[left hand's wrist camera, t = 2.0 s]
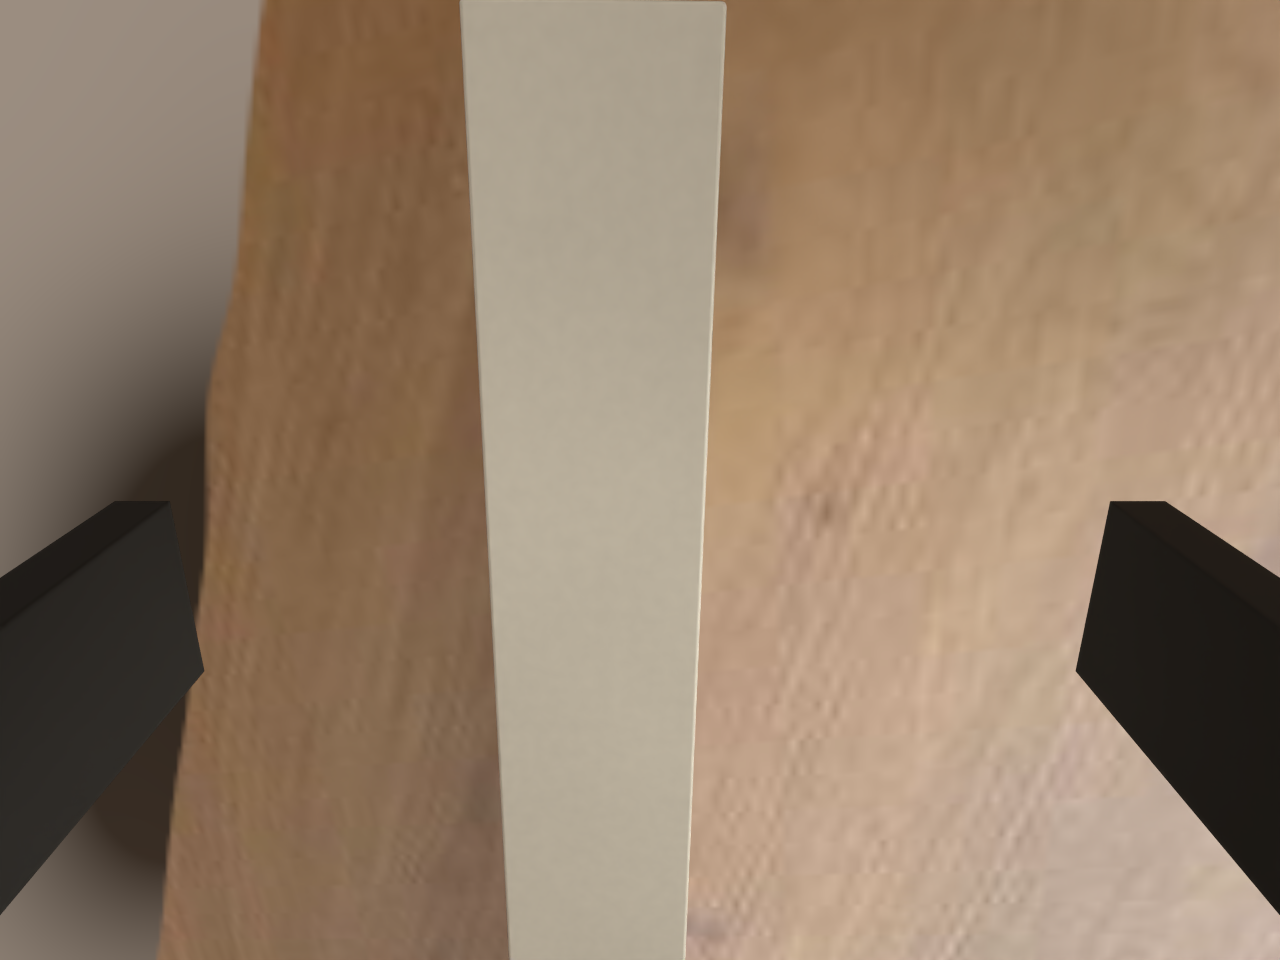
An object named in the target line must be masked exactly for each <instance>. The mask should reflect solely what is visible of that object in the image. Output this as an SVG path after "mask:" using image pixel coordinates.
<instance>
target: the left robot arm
mask: <svg viewBox="0 0 1280 960" xmlns="http://www.w3.org/2000/svg"><path fill="white" fill-rule="evenodd" d="M203 672H204V667H203V662H202V657H201V652H200V647H199V642H198V638H197V633H196V628H195V623H194V618H193V613H192V608H191V603H190V598H189V593H188V589H187V584H186V579H185V574H184V569H183V564H182V559H181V554H180V549H179V545H178V540H177V535H176V530H175V525H174V520H173V515H172V510H171V505H170V501H115V502H113V503H112V504H110V505H109V506H107V507H106V508H104V509H103V510H101V511H100V512H98V513H97V514H95V515H94V516H92V517H91V518H89V519H88V520H86V521H85V522H83V523H82V524H80V525H79V526H77V527H76V528H74V529H73V530H71V531H70V532H68V533H67V534H65V535H64V536H62V537H61V538H59V539H58V540H56V541H55V542H53V543H52V544H50V545H49V546H47V547H46V548H44V549H43V550H41V551H40V552H38V553H37V554H35V555H34V556H32V557H31V558H29V559H28V560H26V561H25V562H23V563H22V564H20V565H19V566H17V567H16V568H14V569H13V570H11V571H10V572H8V573H7V574H5V575H4V576H2V577H1V578H0V915H1V913H2V912H3V911H4V910H5V909H6V907H7V906H8V905H9V904H10V903H11V901H12V900H13V899H14V898H15V897H16V896H17V894H18V893H19V892H20V891H21V890H22V888H23V887H24V886H25V885H26V883H27V882H28V881H29V880H30V879H31V878H32V876H33V875H34V874H35V873H36V872H37V870H38V869H39V868H40V867H41V866H42V864H43V863H44V862H45V861H46V860H47V858H48V857H49V856H50V855H51V854H52V853H53V851H54V850H55V849H56V848H57V847H58V845H59V844H60V843H61V842H62V841H63V839H64V838H65V837H66V836H67V835H68V833H69V832H70V831H71V830H72V829H73V827H74V826H75V825H76V824H77V823H78V821H79V820H80V819H81V818H82V817H83V815H84V814H85V813H86V812H87V811H88V809H89V808H90V807H91V806H92V805H93V803H94V802H95V801H96V800H97V799H98V797H99V796H100V795H101V794H102V793H103V792H104V790H105V789H106V788H107V787H108V786H109V784H110V783H111V782H112V781H113V780H114V778H115V777H116V776H117V775H118V774H119V772H120V771H121V770H122V769H123V768H124V766H125V765H126V764H127V763H128V762H129V760H130V759H131V758H132V757H133V756H134V754H135V753H136V752H137V751H138V750H139V748H140V747H141V746H142V745H143V744H144V743H145V741H146V740H147V739H148V738H149V737H150V735H151V734H152V733H153V732H154V731H155V729H156V728H157V727H158V726H159V725H160V723H161V722H162V721H163V720H164V719H165V717H166V716H167V715H168V714H169V713H170V711H171V710H172V709H173V708H174V707H175V705H176V704H177V703H178V702H179V701H180V700H181V698H182V697H183V696H184V695H185V694H186V692H187V691H188V690H189V689H190V688H191V686H192V685H193V684H194V683H195V682H196V680H197V679H198V678H199V677H200V676H201V674H202V673H203ZM1076 672H1077V673H1078V674H1079V676H1080V677H1081V678H1082V679H1083V680H1084V682H1085V683H1086V684H1087V685H1088V686H1089V688H1090V689H1091V690H1092V691H1093V692H1094V694H1095V695H1096V696H1097V697H1098V698H1099V700H1100V701H1101V702H1102V703H1103V704H1104V705H1105V707H1106V708H1107V709H1108V710H1109V711H1110V713H1111V714H1112V715H1113V716H1114V717H1115V719H1116V720H1117V721H1118V722H1119V723H1120V725H1121V726H1122V727H1123V728H1124V729H1125V731H1126V732H1127V733H1128V734H1129V735H1130V737H1131V738H1132V739H1133V740H1134V741H1135V743H1136V744H1137V745H1138V746H1139V747H1140V749H1141V750H1142V751H1143V752H1144V753H1145V754H1146V756H1147V757H1148V758H1149V759H1150V760H1151V762H1152V763H1153V764H1154V765H1155V766H1156V768H1157V769H1158V770H1159V771H1160V772H1161V774H1162V775H1163V776H1164V777H1165V778H1166V780H1167V781H1168V782H1169V783H1170V784H1171V786H1172V787H1173V788H1174V789H1175V790H1176V792H1177V793H1178V794H1179V795H1180V796H1181V798H1182V799H1183V800H1184V801H1185V802H1186V804H1187V805H1188V806H1189V807H1190V808H1191V809H1192V811H1193V812H1194V813H1195V814H1196V815H1197V817H1198V818H1199V819H1200V820H1201V821H1202V823H1203V824H1204V825H1205V826H1206V827H1207V829H1208V830H1209V831H1210V832H1211V833H1212V835H1213V836H1214V837H1215V838H1216V839H1217V841H1218V842H1219V843H1220V844H1221V845H1222V847H1223V848H1224V849H1225V850H1226V851H1227V853H1228V854H1229V855H1230V856H1231V857H1232V858H1233V860H1234V861H1235V862H1236V863H1237V864H1238V866H1239V867H1240V868H1241V869H1242V870H1243V872H1244V873H1245V874H1246V875H1247V876H1248V878H1249V879H1250V880H1251V881H1252V882H1253V884H1254V885H1255V886H1256V887H1257V888H1258V890H1259V891H1260V892H1261V893H1262V894H1263V896H1264V897H1265V898H1266V899H1267V900H1268V902H1269V903H1270V904H1271V905H1272V906H1273V908H1274V909H1275V910H1276V911H1277V912H1278V913H1279V915H1280V578H1279V577H1278V576H1276V575H1275V574H1273V573H1272V572H1270V571H1269V570H1267V569H1266V568H1264V567H1263V566H1261V565H1260V564H1258V563H1257V562H1255V561H1254V560H1252V559H1251V558H1249V557H1248V556H1246V555H1245V554H1243V553H1242V552H1240V551H1239V550H1237V549H1236V548H1234V547H1233V546H1231V545H1230V544H1228V543H1227V542H1225V541H1224V540H1222V539H1221V538H1219V537H1218V536H1216V535H1215V534H1213V533H1212V532H1210V531H1209V530H1207V529H1206V528H1204V527H1203V526H1201V525H1200V524H1198V523H1197V522H1195V521H1194V520H1192V519H1191V518H1189V517H1188V516H1186V515H1185V514H1183V513H1182V512H1180V511H1179V510H1177V509H1176V508H1174V507H1173V506H1171V505H1170V504H1168V503H1167V502H1165V501H1110V505H1109V510H1108V515H1107V520H1106V525H1105V530H1104V535H1103V539H1102V544H1101V549H1100V554H1099V559H1098V564H1097V569H1096V574H1095V579H1094V584H1093V589H1092V593H1091V598H1090V603H1089V608H1088V613H1087V618H1086V623H1085V628H1084V633H1083V638H1082V642H1081V647H1080V652H1079V657H1078V662H1077V667H1076Z"/></svg>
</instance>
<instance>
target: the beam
mask: <svg viewBox="0 0 1280 960" xmlns="http://www.w3.org/2000/svg"><path fill="white" fill-rule="evenodd" d="M459 5H460V24H461V44H462V63H463V82H464V101H465V121H466V140H467V159H468V179H469V198H470V217H471V236H472V256H473V275H474V294H475V314H476V333H477V352H478V371H479V391H480V410H481V429H482V449H483V468H484V487H485V506H486V526H487V545H488V564H489V584H490V603H491V622H492V641H493V661H494V680H495V699H496V719H497V738H498V757H499V776H500V796H501V815H502V834H503V854H504V873H505V892H506V911H507V931H508V950H509V960H685V951H686V928H687V905H688V883H689V860H690V837H691V814H692V791H693V768H694V745H695V722H696V699H697V676H698V653H699V630H700V607H701V584H702V561H703V538H704V515H705V493H706V470H707V447H708V424H709V401H710V378H711V355H712V332H713V309H714V286H715V263H716V240H717V217H718V194H719V171H720V148H721V126H722V103H723V80H724V57H725V34H726V11H727V6H726V3H725V2H723V1H675V0H460V2H459Z"/></svg>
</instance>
